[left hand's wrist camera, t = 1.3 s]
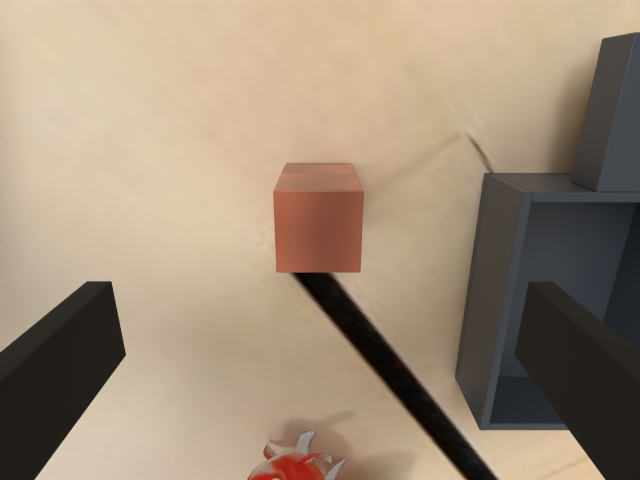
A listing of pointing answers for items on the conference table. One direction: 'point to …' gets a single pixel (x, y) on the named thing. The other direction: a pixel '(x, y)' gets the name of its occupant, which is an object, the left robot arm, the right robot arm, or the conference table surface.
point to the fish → (294, 464)
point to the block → (318, 218)
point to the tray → (557, 247)
